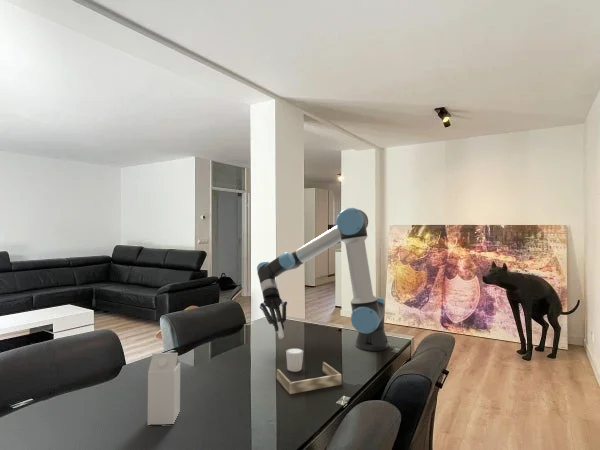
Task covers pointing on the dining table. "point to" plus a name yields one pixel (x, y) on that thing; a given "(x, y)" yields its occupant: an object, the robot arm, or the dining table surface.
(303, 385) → the bay
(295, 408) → the dining table surface
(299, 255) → the robot arm
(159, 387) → the milk carton
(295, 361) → the white cup
